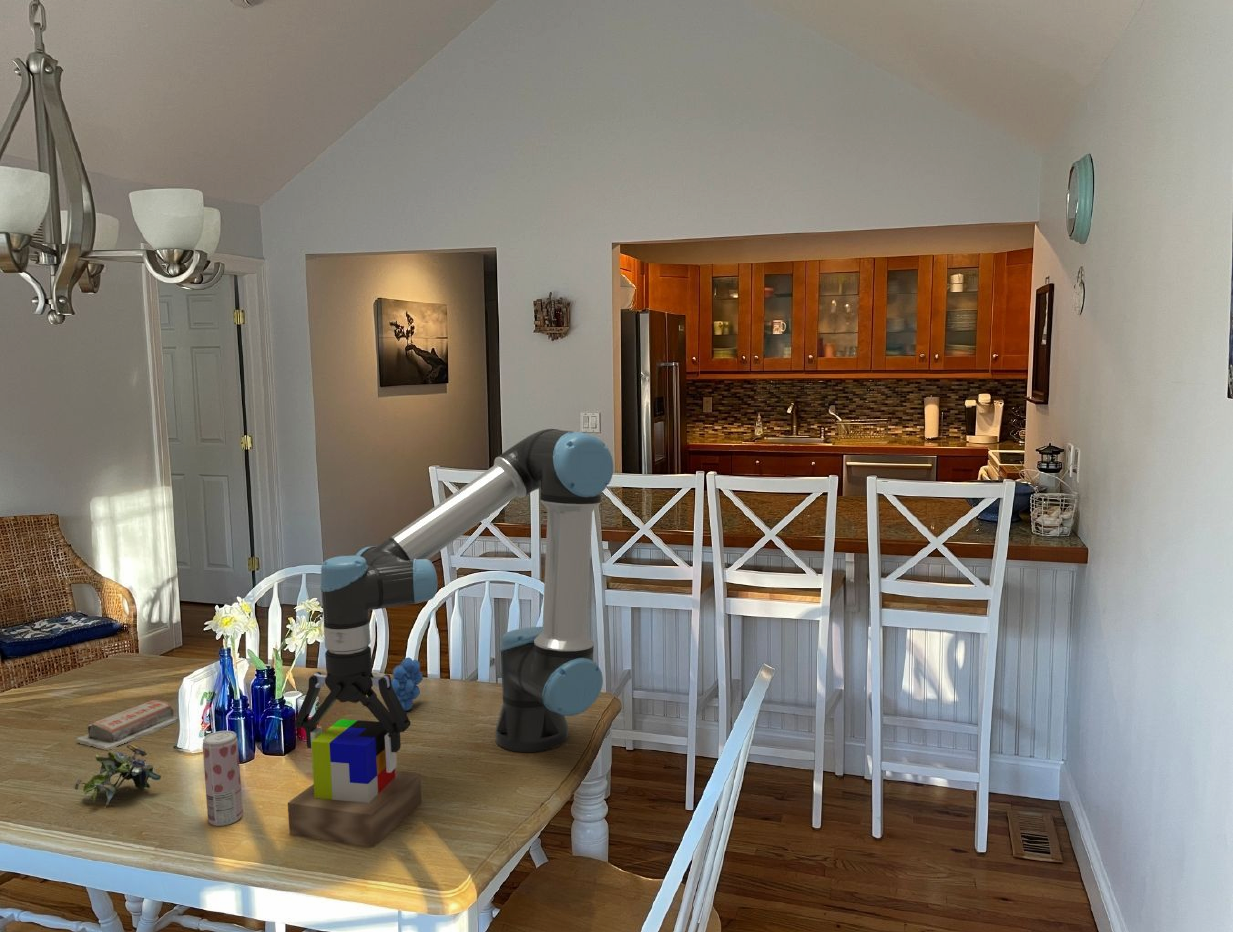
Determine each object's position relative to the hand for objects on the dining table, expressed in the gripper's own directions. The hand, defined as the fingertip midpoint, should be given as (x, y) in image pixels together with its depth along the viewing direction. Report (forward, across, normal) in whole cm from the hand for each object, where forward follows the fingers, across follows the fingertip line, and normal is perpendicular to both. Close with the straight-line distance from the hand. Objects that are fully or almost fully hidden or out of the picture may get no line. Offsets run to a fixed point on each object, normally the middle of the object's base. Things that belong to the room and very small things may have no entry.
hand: (354, 767), depth 164 cm
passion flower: (+9, -47, +2) cm, 48 cm away
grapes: (+9, -11, +49) cm, 51 cm away
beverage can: (+9, -23, -3) cm, 25 cm away
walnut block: (+10, 0, 0) cm, 10 cm away
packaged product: (+10, -66, +31) cm, 73 cm away
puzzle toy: (+4, 0, 0) cm, 4 cm away
